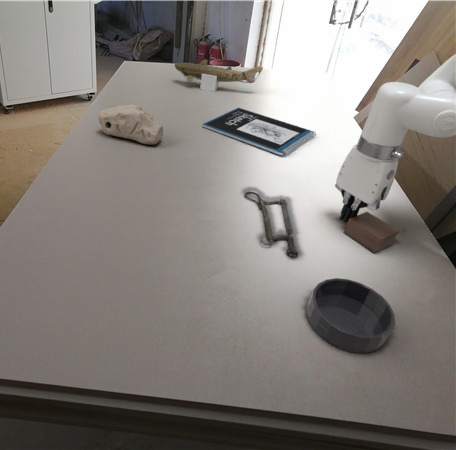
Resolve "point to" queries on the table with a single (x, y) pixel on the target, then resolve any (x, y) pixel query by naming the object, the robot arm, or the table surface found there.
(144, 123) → the decorative stone
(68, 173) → the table surface
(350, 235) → the block
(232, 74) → the wood carving
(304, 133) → the sketchbook
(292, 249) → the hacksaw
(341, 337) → the pan
